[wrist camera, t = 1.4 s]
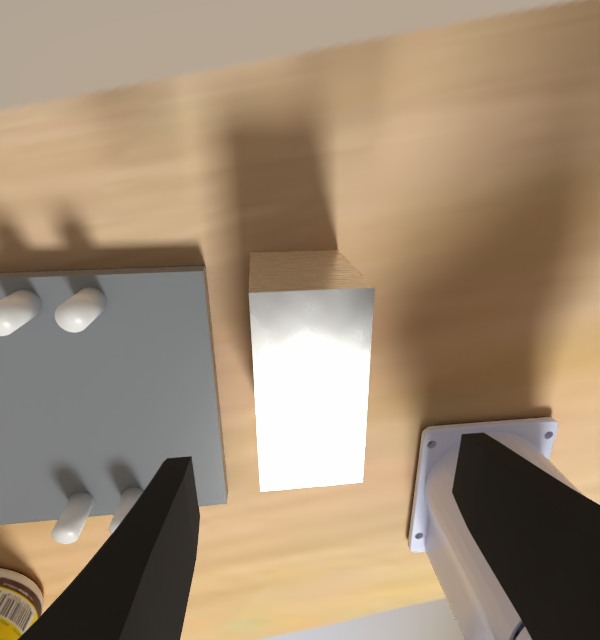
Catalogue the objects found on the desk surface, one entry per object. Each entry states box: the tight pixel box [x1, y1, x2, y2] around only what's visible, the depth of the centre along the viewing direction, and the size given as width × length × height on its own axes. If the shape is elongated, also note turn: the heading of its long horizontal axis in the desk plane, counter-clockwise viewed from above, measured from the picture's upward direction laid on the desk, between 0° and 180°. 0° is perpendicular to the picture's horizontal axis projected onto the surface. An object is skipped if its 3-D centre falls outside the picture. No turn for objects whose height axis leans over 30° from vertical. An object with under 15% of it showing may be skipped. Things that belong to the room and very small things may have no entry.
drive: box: [249, 250, 375, 491], centre depth 17 cm, size 8×4×6 cm, turn 1°
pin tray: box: [0, 266, 228, 544], centre depth 18 cm, size 13×12×3 cm
